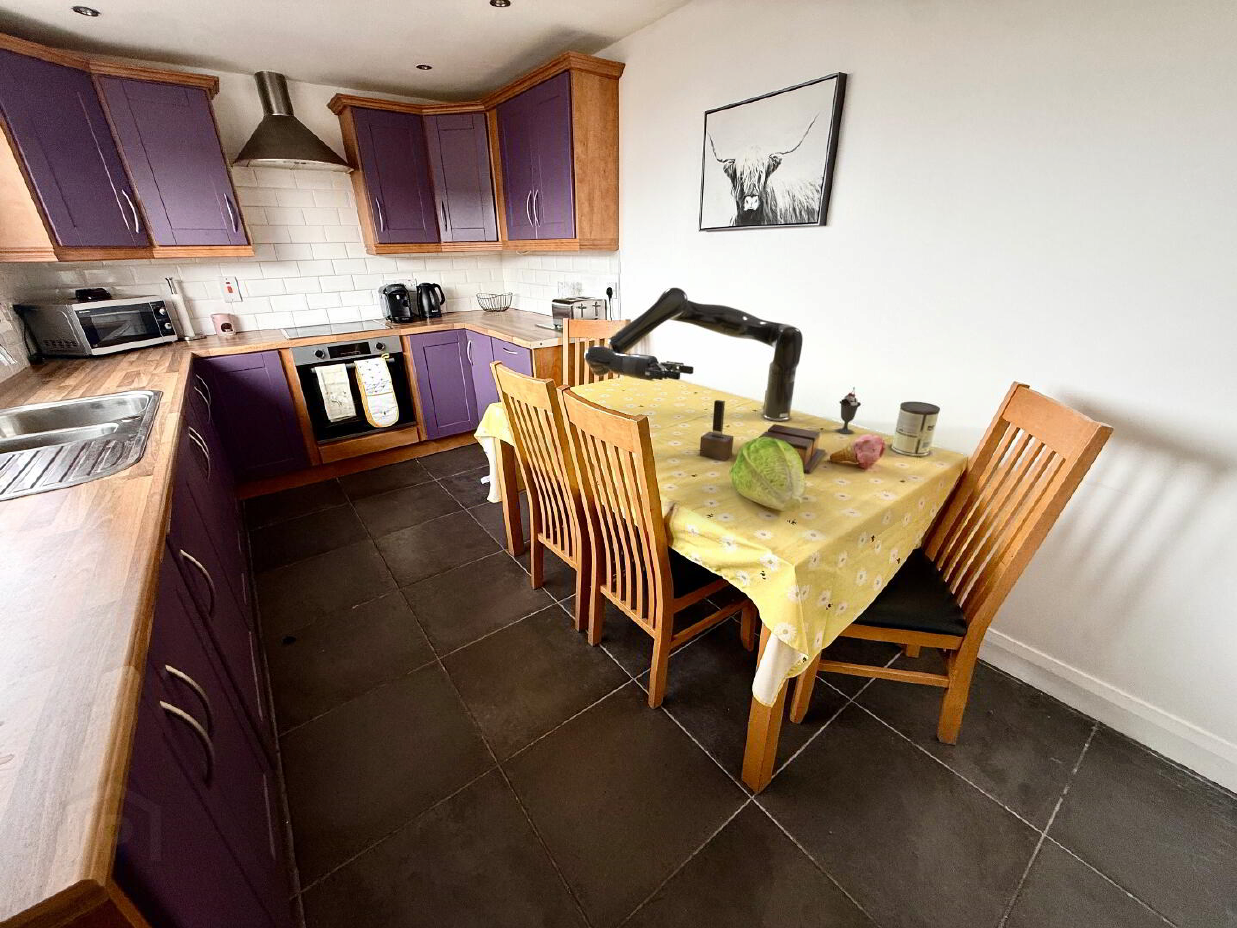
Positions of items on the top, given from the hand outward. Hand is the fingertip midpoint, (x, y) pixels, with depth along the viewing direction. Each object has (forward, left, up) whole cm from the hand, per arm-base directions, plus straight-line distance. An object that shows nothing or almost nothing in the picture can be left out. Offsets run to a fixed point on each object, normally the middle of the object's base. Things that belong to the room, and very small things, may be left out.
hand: (686, 373), depth 148 cm
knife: (+8, +7, -24) cm, 26 cm away
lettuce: (+39, +7, -24) cm, 47 cm away
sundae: (+1, +58, -24) cm, 63 cm away
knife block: (+8, +7, -24) cm, 26 cm away
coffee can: (+21, +66, -24) cm, 74 cm away
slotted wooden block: (+15, +27, -24) cm, 39 cm away
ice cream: (+27, +42, -24) cm, 56 cm away
